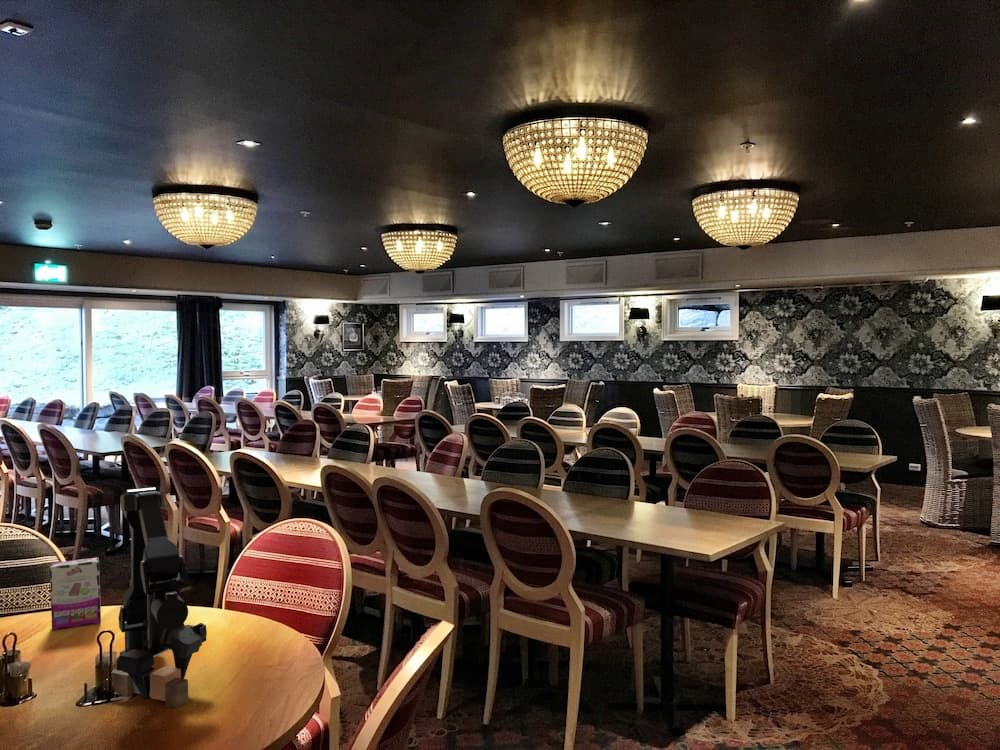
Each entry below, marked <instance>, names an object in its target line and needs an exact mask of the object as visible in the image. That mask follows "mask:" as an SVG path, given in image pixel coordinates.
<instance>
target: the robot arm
mask: <svg viewBox="0 0 1000 750" xmlns="http://www.w3.org/2000/svg"><path fill="white" fill-rule="evenodd" d="M164 493H165V491H163V490H162V491H161V490H160V491H157V488H156V487H155V486H153V487H142V488H132V489H131V488H130V489H126V490H125V492H124V493H123V494H121V495H120V496H119V497H120V499H119V500H120V501H119V502H120V504H119V505H120V511H121V512H123V515H124V518H125V520H126V521H127V523H128V524H129V526H130V585H129V587H128V588H127V590H126V592H125V593H124V595H123V596H122V598H123V599H122V600H123V602H122V604H123V605H121V606H120V609H119V612H118V613H119V615H118V628H119V629H120V631H121V633H124V650H122V651H120V652H119V656H118V657H117V658H116V660H115V666H116V667H115V670H118V671H122V672H126V673H128V675H129V676H130V677H131V678H132V680H133V681H134V683H135V685H136V686H137V688H138V690H139V691H140V693H141V694H140V695H141V696H142V699H144V700H149V699H150V696H149V695H150V674H151V673H153V672H155V668H156V667H153V666H154V664H155V657H157V656H160V655H162V654H164V653H166V652H168V651H172V657H173V661H174V666H175V668H179V669H181V678H182V679H185V677H186V673H187V671H188V667H189V665H190V661H191V659H192V656H193V654H196V653H198V652H199V651H200V648H201V647H202V646H203V643H205V642H207V636H208V634H207V633H208V632H207V631H208V630H207V625H206V624H204V623H203V622H200V623H197V624H196V625H192V624H185V622H186V620H187V619H188V616H189V607H188V605H187V604H186V603H185V601H184V600H183V598H182V597H181V595H180V589H186V588H187V587H188V584H187V582H188V581H189V573H188V569H187V564H186V563H187V562H186V561H185V559H184V556H183V555H182V554H181V555H180V553H179V550H178V547H177V544H175V543H174V542H172V541H171V540H170V539H169V536H168V533H167V528H166V524H165V520H164V519H165V518H164V516H163V511H162V508H165V495H164ZM178 578H179V579H178Z"/></svg>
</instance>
